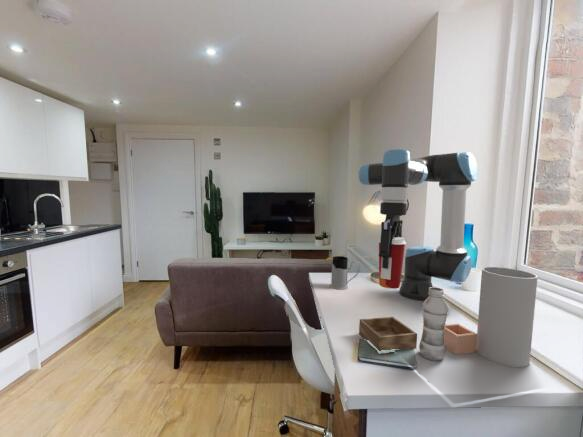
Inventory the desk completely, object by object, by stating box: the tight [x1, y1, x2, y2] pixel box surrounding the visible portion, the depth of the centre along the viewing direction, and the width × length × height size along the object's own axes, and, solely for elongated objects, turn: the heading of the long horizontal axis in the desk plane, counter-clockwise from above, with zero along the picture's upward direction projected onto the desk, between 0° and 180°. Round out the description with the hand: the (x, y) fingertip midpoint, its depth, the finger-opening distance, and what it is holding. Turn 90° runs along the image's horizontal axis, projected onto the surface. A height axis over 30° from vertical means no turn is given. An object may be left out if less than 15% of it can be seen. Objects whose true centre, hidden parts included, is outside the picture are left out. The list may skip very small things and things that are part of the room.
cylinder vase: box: [476, 266, 539, 368], centre depth 81 cm, size 12×12×25 cm
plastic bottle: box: [418, 286, 449, 362], centre depth 80 cm, size 6×7×20 cm
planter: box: [444, 323, 477, 355], centre depth 86 cm, size 7×7×6 cm
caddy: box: [358, 316, 418, 351], centre depth 89 cm, size 12×12×5 cm
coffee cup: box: [377, 236, 407, 290], centre depth 87 cm, size 8×8×15 cm
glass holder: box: [329, 255, 361, 291], centre depth 142 cm, size 9×14×15 cm, turn 82°
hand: (389, 275), depth 88 cm, fingers closed on coffee cup, 7 cm apart
